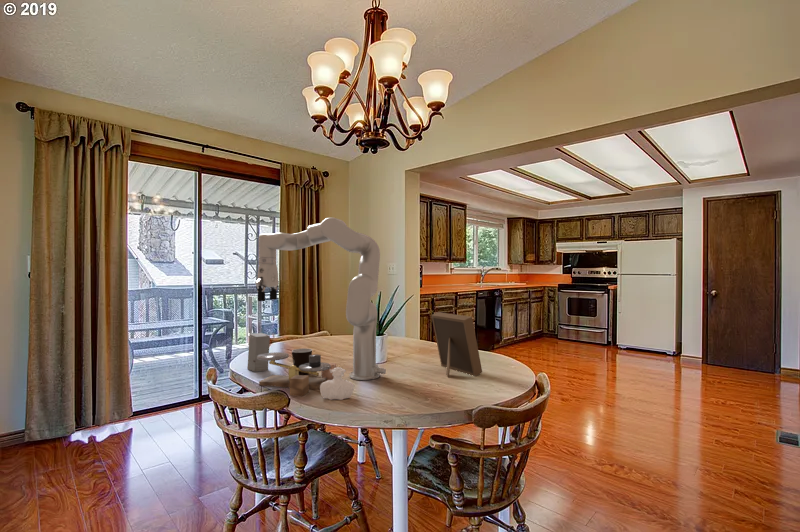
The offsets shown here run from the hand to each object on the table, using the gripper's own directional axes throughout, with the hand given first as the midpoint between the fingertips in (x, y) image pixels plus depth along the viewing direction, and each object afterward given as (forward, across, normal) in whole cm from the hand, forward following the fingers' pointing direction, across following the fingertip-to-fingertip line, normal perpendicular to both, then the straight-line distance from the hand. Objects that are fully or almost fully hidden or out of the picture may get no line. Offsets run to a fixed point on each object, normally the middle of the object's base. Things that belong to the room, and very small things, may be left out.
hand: (267, 300), depth 178 cm
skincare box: (+31, +1, +5) cm, 32 cm away
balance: (+30, -16, -21) cm, 40 cm away
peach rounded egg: (+31, -7, -32) cm, 45 cm away
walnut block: (+31, -27, -29) cm, 50 cm away
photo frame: (+31, +15, -80) cm, 87 cm away
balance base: (+31, -16, -21) cm, 41 cm away
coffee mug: (+31, 0, -17) cm, 36 cm away
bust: (+31, -28, -44) cm, 61 cm away
